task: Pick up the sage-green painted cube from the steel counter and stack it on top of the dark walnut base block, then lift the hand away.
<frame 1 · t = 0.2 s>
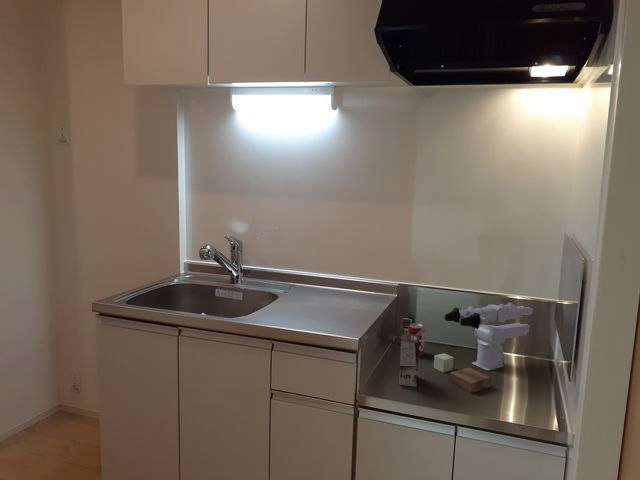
hand: (453, 320, 191), 21 cm above the countertop, tool horizontal, fingers open, 7 cm apart
coffee box: (408, 381, 189), on the countertop
sage cube: (443, 369, 200), on the countertop
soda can: (415, 354, 215), on the countertop
walnut base: (469, 385, 187), on the countertop
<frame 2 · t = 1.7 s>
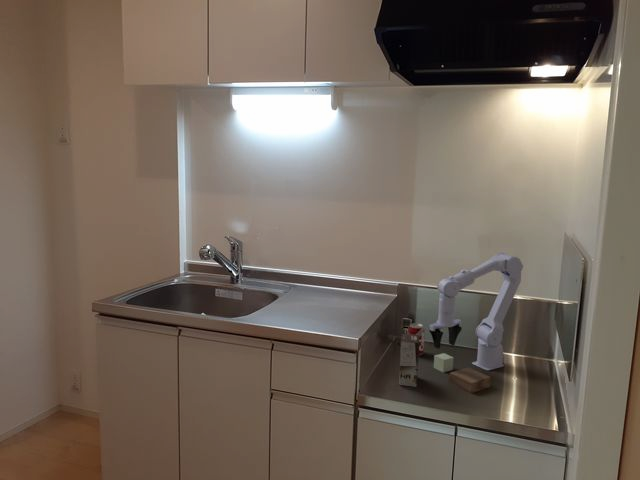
hand: (444, 346, 199), 9 cm above the countertop, tool pointing down, fingers open, 7 cm apart
nothing on the countertop moved.
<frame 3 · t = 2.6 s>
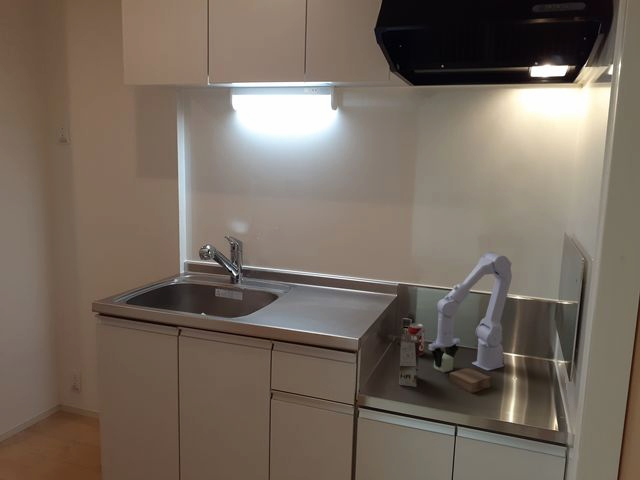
hand: (443, 365, 200), 1 cm above the countertop, tool pointing down, fingers closed on sage cube, 5 cm apart
sage cube: (443, 368, 200), on the countertop, touching gripper
everything else where it was.
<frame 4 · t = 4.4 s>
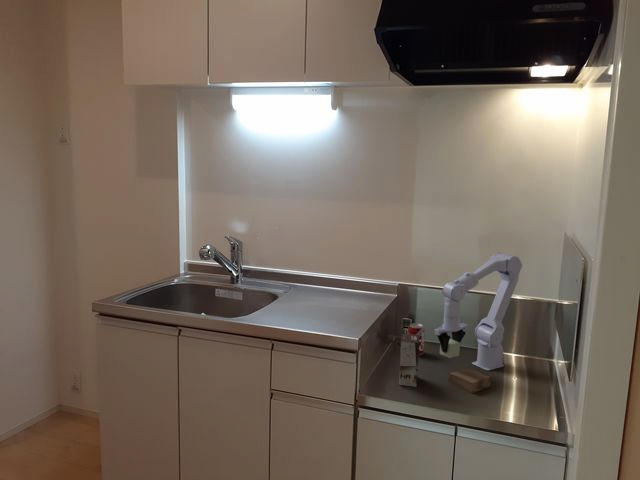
hand: (449, 350, 196), 8 cm above the countertop, tool pointing down, fingers closed on sage cube, 5 cm apart
sage cube: (449, 354, 196), point 7 cm above the countertop, touching gripper
everything else where it was.
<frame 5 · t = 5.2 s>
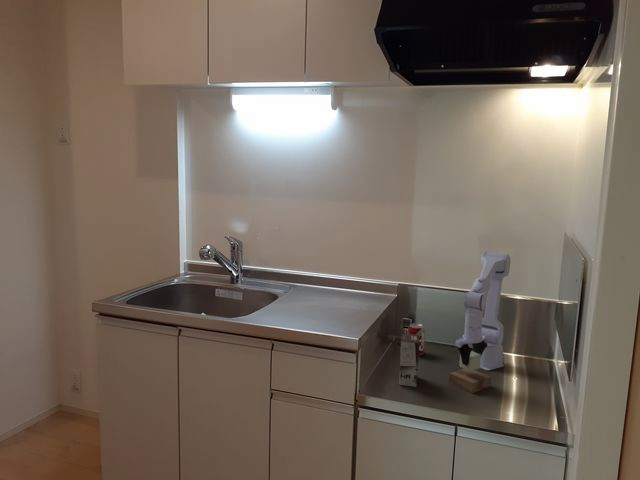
hand: (470, 363, 185), 8 cm above the countertop, tool pointing down, fingers closed on sage cube, 5 cm apart
sage cube: (469, 367, 186), point 6 cm above the countertop, touching gripper
everything else where it was.
when the fingers open (6 cm above the countertop, at t = 5.9 s): sage cube drops 1 cm, resting on walnut base.
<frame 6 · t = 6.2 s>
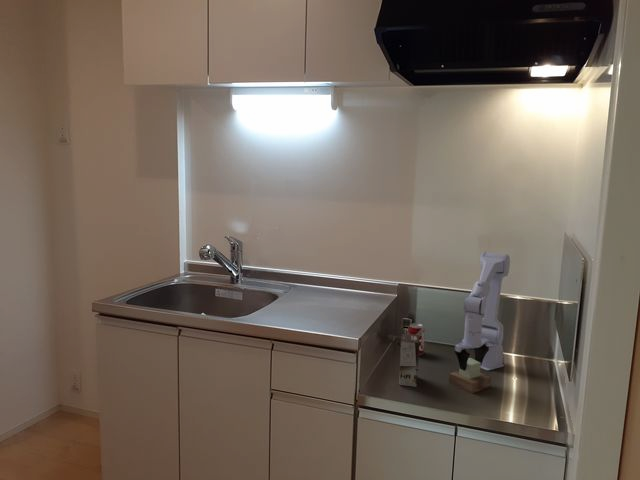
hand: (470, 367, 186), 6 cm above the countertop, tool pointing down, fingers open, 7 cm apart
sage cube: (469, 374, 186), point 4 cm above the countertop, touching walnut base
walnut base: (469, 385, 187), on the countertop, touching sage cube
everything else where it was.
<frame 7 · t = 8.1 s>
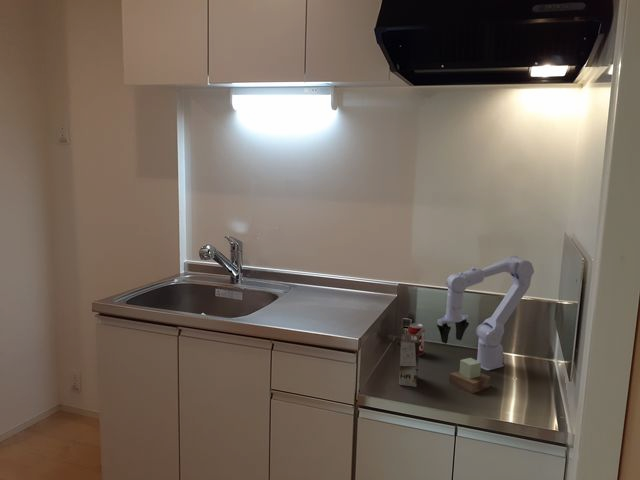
hand: (451, 341, 200), 10 cm above the countertop, tool pointing down, fingers open, 7 cm apart
sage cube: (469, 374, 186), point 4 cm above the countertop
walnut base: (469, 386, 187), on the countertop
everything else where it was.
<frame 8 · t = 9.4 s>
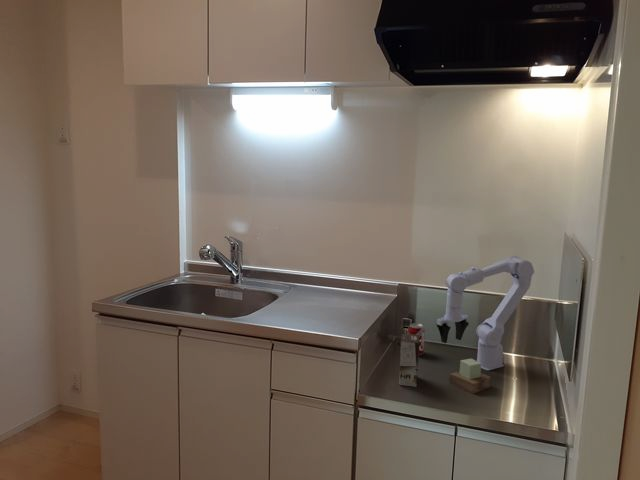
hand: (451, 340, 201), 10 cm above the countertop, tool pointing down, fingers open, 7 cm apart
sage cube: (469, 375, 186), point 4 cm above the countertop, touching walnut base
walnut base: (469, 386, 187), on the countertop, touching sage cube
everything else where it was.
at the end: sage cube 0.1 cm off-centre on the walnut base, point 4.1 cm above the walnut base's base; sage cube tilted 1°; the gripper is holding nothing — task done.
